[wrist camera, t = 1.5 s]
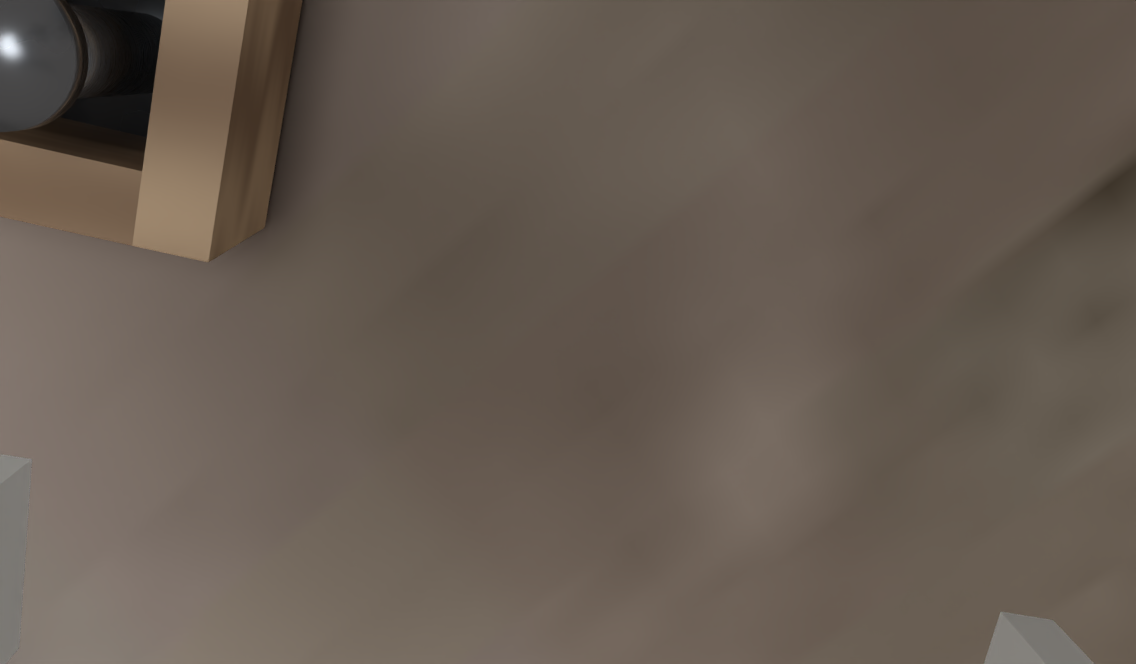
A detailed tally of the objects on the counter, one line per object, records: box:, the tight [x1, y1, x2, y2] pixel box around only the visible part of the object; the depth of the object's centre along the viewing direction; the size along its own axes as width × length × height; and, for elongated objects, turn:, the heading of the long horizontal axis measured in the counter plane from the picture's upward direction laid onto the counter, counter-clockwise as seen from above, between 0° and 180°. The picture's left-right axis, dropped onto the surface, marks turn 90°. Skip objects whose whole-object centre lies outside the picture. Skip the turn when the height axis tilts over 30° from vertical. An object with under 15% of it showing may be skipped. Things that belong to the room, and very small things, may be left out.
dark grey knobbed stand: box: [0, 0, 165, 137], centre depth 28 cm, size 8×8×10 cm
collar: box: [0, 0, 302, 262], centre depth 29 cm, size 9×9×6 cm
